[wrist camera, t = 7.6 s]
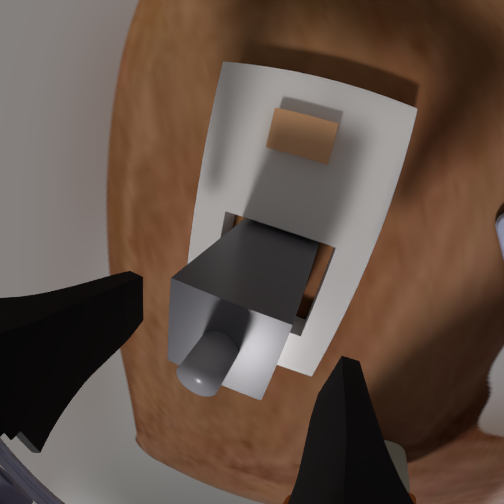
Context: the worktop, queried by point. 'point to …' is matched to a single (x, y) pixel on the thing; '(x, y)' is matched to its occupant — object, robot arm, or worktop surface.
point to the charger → (237, 308)
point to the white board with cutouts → (302, 178)
